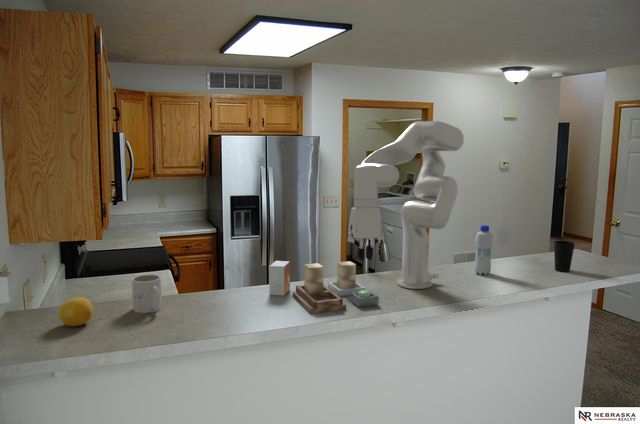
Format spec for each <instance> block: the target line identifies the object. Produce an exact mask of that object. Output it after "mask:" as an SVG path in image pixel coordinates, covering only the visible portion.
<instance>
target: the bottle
mask: <svg viewBox="0 0 640 424" xmlns="http://www.w3.org/2000/svg"><path fill="white" fill-rule="evenodd" d="M474 241H475V259H474V272H475V274H476V275H479V276H482V274H483V275H484V276H486V275H489V274H491V269H492V262H491V261H492V260H491V259H492V247H493V242H494V240H493V233H492V232H490V226H489V225H485V224H482V225H481V226H480V230H479V231H478V232H477V233H476V235H475V240H474Z"/></svg>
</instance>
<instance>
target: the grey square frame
mask: <svg viewBox="0 0 640 424" xmlns="http://www.w3.org/2000/svg"><path fill="white" fill-rule="evenodd" d="M327 288H329V289H330V290H331V291H333V292H334V293H335V294H336V295H338V296H339V297H344V296H350V293H351V292H359V291H361V290H366V287H364V286H363V285H361V284H360V283H359V282H356V287H355V288H352V289H343V290H340V289H339V288H338V287H337V280H336V281H328V283H327Z"/></svg>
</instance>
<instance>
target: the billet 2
mask: <svg viewBox="0 0 640 424" xmlns="http://www.w3.org/2000/svg"><path fill="white" fill-rule="evenodd" d="M336 268H337V270H336V274H337V275H336V279H337V280H336V281H337V287H338V288H339V289H340V290H343V289H352V288H355V287H356V281H357V279H356V275H357V274H356V273H357V271H356V270H357V269H356V268H357V264H356V263H354V262H352V261H349V260H348V261H339V262H337V265H336Z"/></svg>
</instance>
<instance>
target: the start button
mask: <svg viewBox="0 0 640 424" xmlns="http://www.w3.org/2000/svg"><path fill="white" fill-rule="evenodd" d="M358 296H359V297H369V296H370V290H366V289H365V290H361V291H359V292H358Z"/></svg>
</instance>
